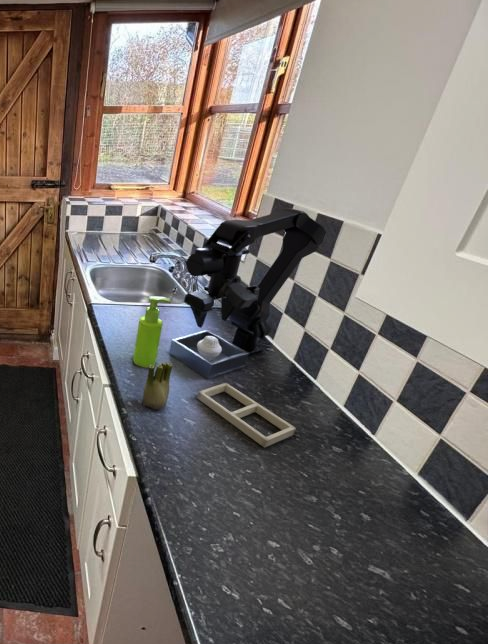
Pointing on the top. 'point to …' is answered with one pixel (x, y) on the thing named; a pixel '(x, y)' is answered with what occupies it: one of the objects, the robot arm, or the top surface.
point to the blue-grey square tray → (222, 364)
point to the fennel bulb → (157, 386)
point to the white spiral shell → (209, 348)
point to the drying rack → (249, 409)
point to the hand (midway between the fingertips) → (211, 323)
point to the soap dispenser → (149, 334)
